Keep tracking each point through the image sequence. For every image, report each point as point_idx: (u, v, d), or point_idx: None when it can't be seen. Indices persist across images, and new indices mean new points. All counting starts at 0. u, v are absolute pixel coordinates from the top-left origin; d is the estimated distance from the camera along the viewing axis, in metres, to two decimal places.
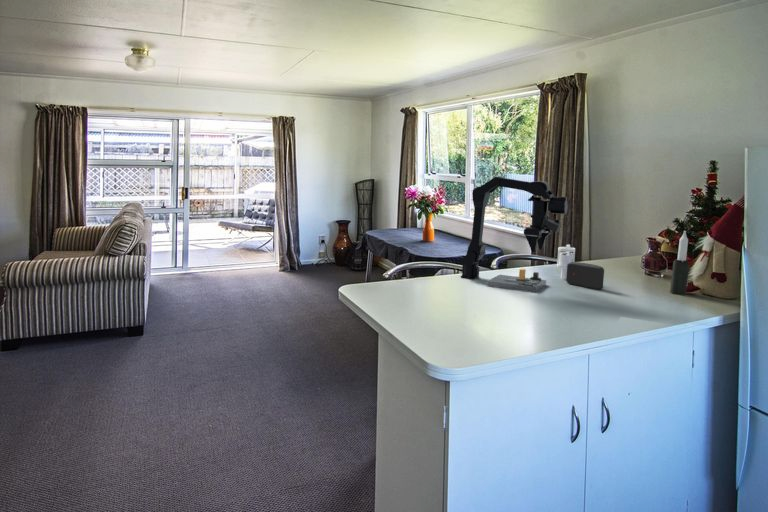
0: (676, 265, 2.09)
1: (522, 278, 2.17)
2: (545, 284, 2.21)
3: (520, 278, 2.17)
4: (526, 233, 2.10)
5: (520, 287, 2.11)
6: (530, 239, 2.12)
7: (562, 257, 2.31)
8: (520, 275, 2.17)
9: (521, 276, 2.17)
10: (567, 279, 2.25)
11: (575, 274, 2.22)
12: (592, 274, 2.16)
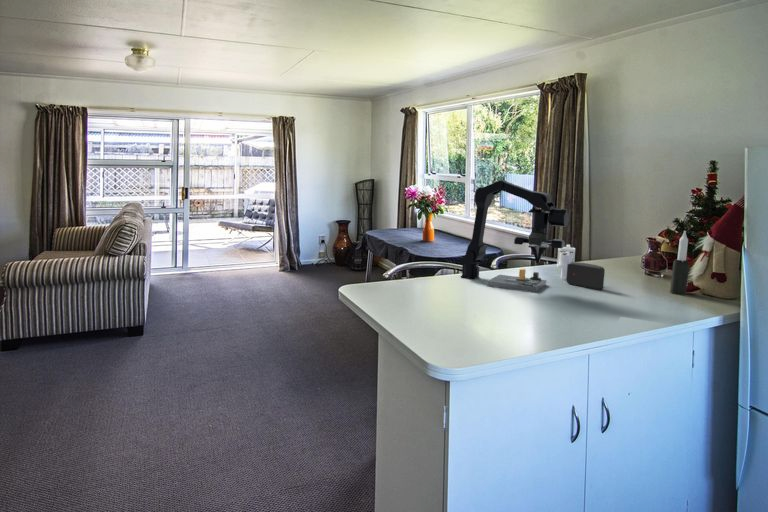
0: (676, 265, 2.09)
1: (522, 278, 2.17)
2: (545, 284, 2.21)
3: (520, 278, 2.17)
4: None
5: (520, 287, 2.11)
6: None
7: (562, 257, 2.31)
8: (520, 275, 2.17)
9: (521, 276, 2.17)
10: (567, 279, 2.25)
11: (575, 274, 2.21)
12: (593, 274, 2.15)
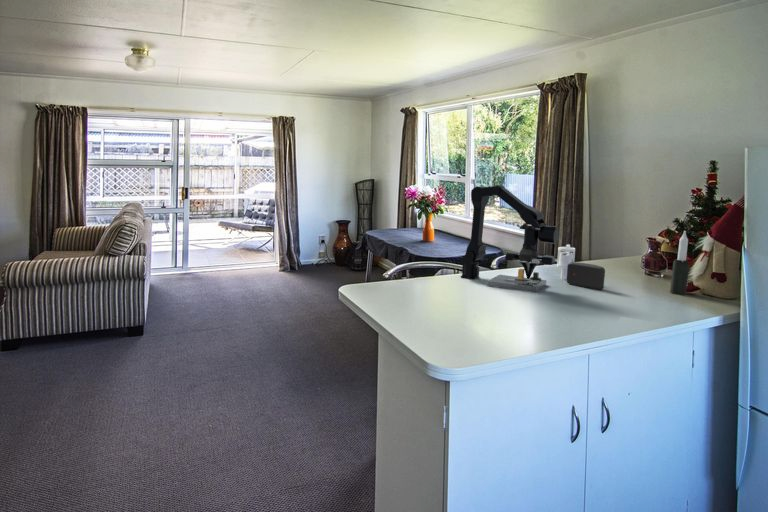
0: (676, 265, 2.09)
1: (521, 278, 2.17)
2: (545, 284, 2.21)
3: (519, 278, 2.18)
4: None
5: (520, 287, 2.11)
6: None
7: (562, 257, 2.31)
8: (519, 275, 2.18)
9: (520, 276, 2.17)
10: (567, 279, 2.24)
11: (575, 274, 2.21)
12: (593, 274, 2.15)
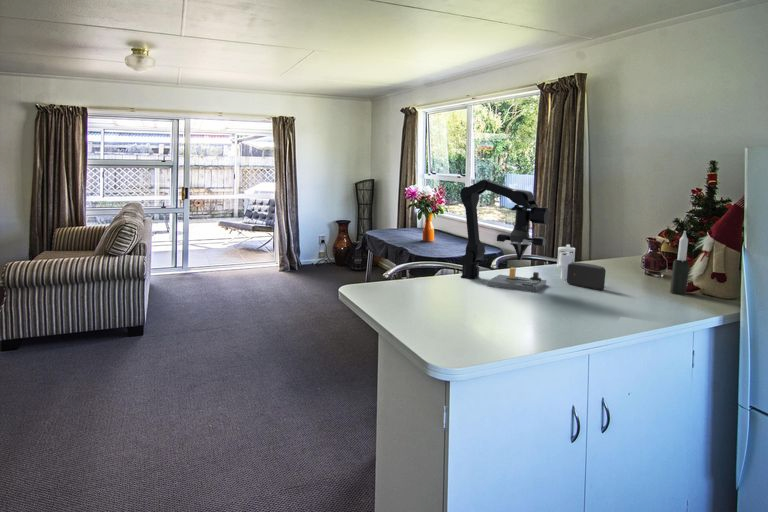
0: (676, 265, 2.09)
1: (512, 277, 2.19)
2: (545, 284, 2.21)
3: (510, 277, 2.19)
4: None
5: (520, 287, 2.11)
6: None
7: (562, 257, 2.31)
8: (510, 274, 2.19)
9: (511, 275, 2.19)
10: (568, 279, 2.24)
11: (576, 274, 2.21)
12: (593, 275, 2.15)
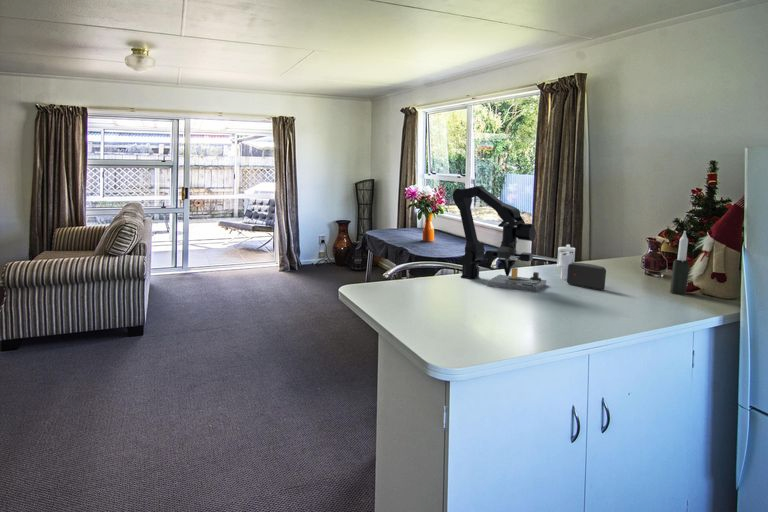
0: (676, 265, 2.09)
1: (514, 277, 2.19)
2: (545, 284, 2.21)
3: (512, 277, 2.19)
4: None
5: (520, 287, 2.11)
6: None
7: (562, 257, 2.31)
8: (512, 274, 2.19)
9: (513, 275, 2.19)
10: (568, 280, 2.24)
11: (576, 275, 2.21)
12: (594, 275, 2.15)
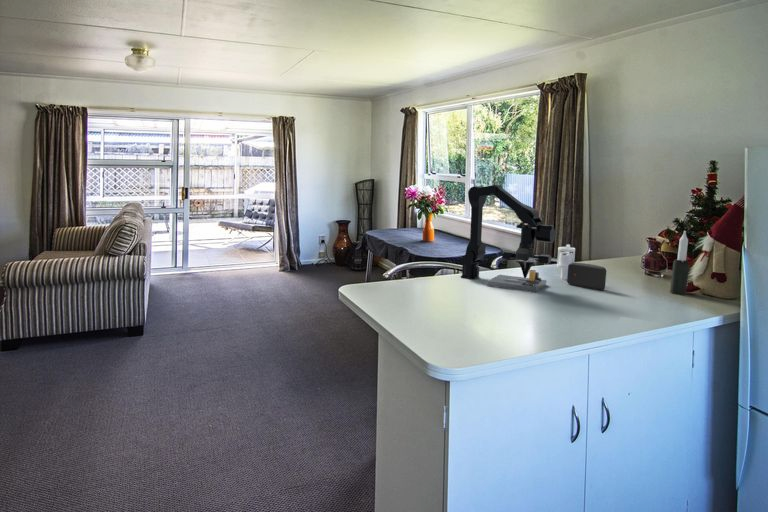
0: (676, 265, 2.09)
1: (532, 279, 2.15)
2: (545, 284, 2.21)
3: (530, 279, 2.15)
4: None
5: (520, 287, 2.11)
6: None
7: (562, 257, 2.31)
8: (530, 276, 2.15)
9: (531, 277, 2.15)
10: (568, 280, 2.23)
11: (576, 275, 2.20)
12: (594, 275, 2.15)
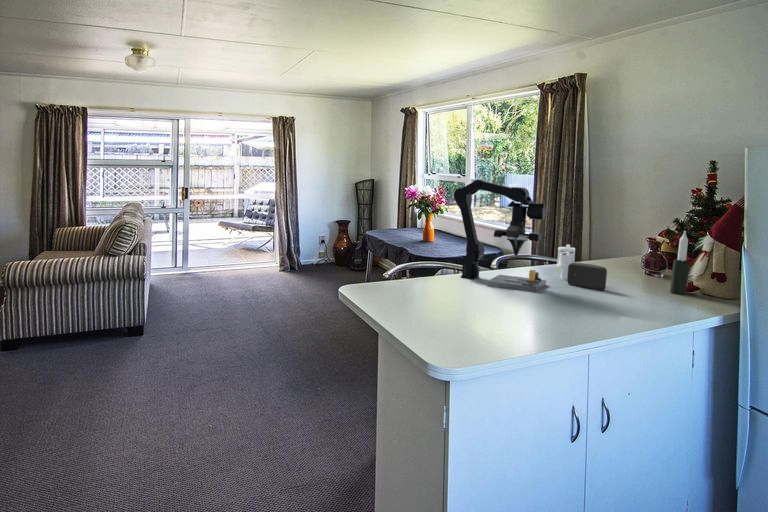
0: (676, 265, 2.09)
1: (532, 279, 2.15)
2: (545, 284, 2.21)
3: (530, 279, 2.15)
4: None
5: (520, 287, 2.11)
6: None
7: (562, 257, 2.31)
8: (530, 276, 2.15)
9: (531, 277, 2.15)
10: (568, 280, 2.23)
11: (577, 275, 2.20)
12: (595, 275, 2.14)
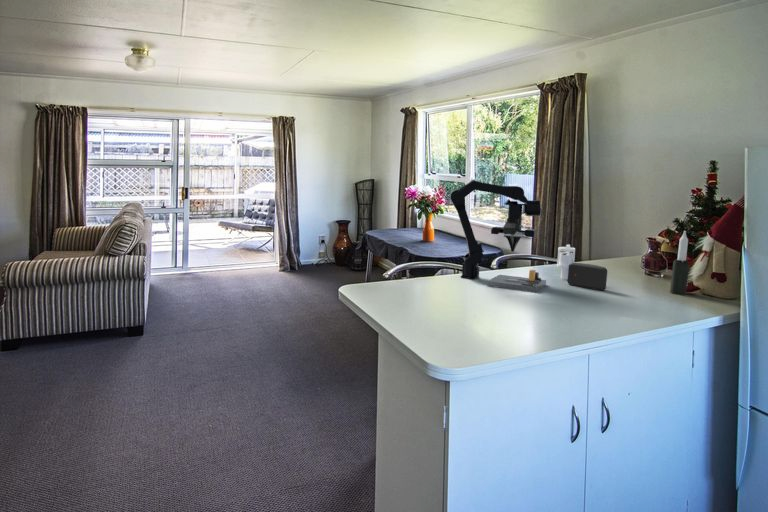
0: (676, 265, 2.09)
1: (532, 279, 2.15)
2: (545, 284, 2.21)
3: (530, 279, 2.15)
4: None
5: (520, 287, 2.11)
6: None
7: (562, 257, 2.31)
8: (530, 276, 2.15)
9: (531, 277, 2.15)
10: (568, 280, 2.23)
11: (577, 275, 2.20)
12: (595, 275, 2.14)
